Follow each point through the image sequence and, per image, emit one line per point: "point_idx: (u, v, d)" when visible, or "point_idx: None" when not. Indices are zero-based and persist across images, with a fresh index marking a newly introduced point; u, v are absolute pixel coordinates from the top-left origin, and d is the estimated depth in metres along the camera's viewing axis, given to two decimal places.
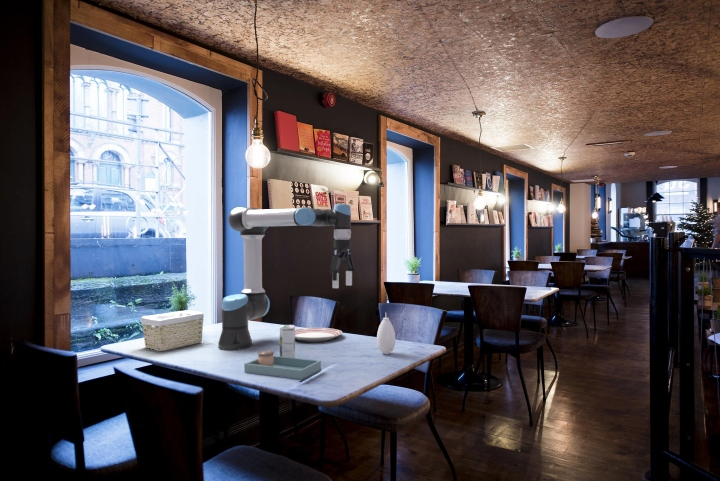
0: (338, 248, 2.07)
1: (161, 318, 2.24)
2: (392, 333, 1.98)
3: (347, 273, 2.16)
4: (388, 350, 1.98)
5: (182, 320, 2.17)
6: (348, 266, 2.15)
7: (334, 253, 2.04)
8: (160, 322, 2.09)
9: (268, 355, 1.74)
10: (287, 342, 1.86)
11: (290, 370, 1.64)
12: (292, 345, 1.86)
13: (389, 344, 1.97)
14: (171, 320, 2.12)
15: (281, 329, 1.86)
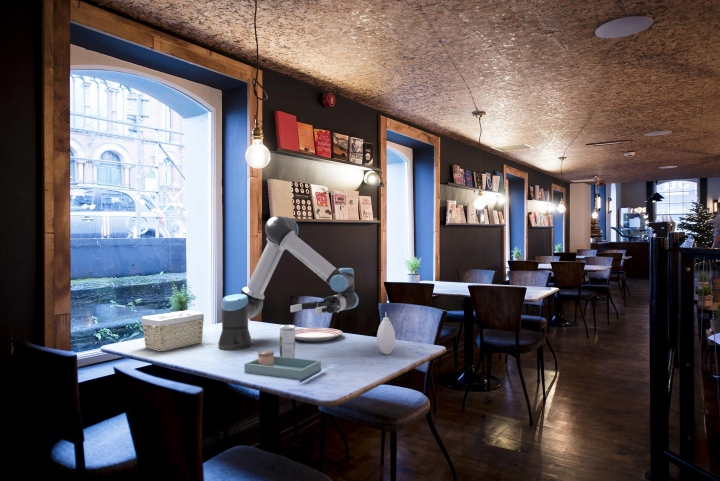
0: None
1: (161, 318, 2.23)
2: (392, 333, 1.98)
3: (300, 306, 2.05)
4: (388, 350, 1.98)
5: (182, 320, 2.16)
6: (306, 307, 2.07)
7: (337, 305, 2.06)
8: (160, 322, 2.08)
9: (268, 355, 1.74)
10: (287, 342, 1.86)
11: (290, 370, 1.64)
12: (292, 345, 1.86)
13: (389, 344, 1.97)
14: (171, 320, 2.12)
15: (281, 329, 1.86)
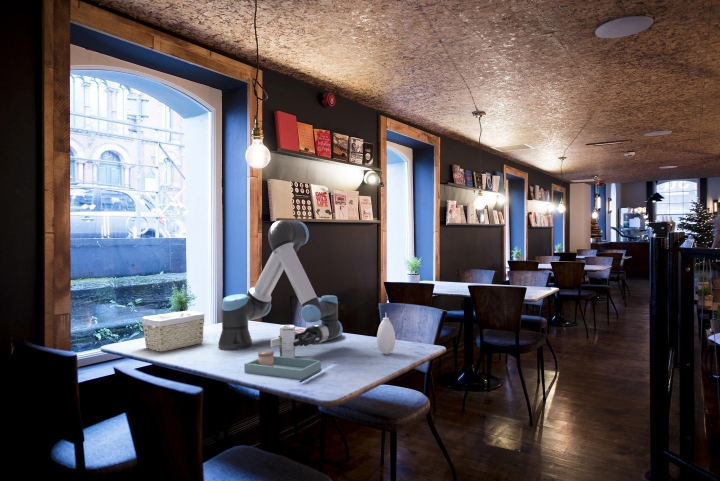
0: None
1: (162, 318, 2.23)
2: (392, 333, 1.98)
3: None
4: (388, 350, 1.98)
5: (182, 320, 2.16)
6: None
7: (316, 338, 1.94)
8: (160, 322, 2.08)
9: (268, 355, 1.74)
10: None
11: (290, 370, 1.64)
12: None
13: (389, 344, 1.97)
14: (171, 320, 2.11)
15: (281, 329, 1.86)
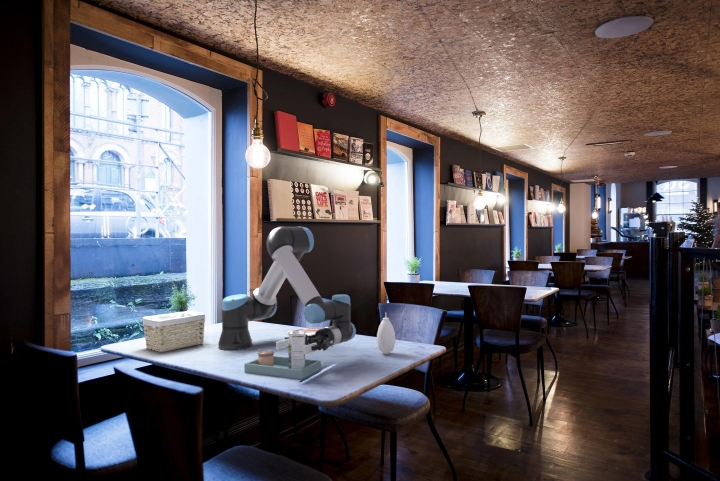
0: None
1: (163, 319, 2.22)
2: (392, 333, 1.98)
3: (287, 341, 1.76)
4: (388, 350, 1.98)
5: (183, 321, 2.15)
6: None
7: (331, 340, 1.77)
8: (160, 323, 2.07)
9: (268, 355, 1.74)
10: (297, 350, 1.68)
11: (290, 370, 1.64)
12: (302, 353, 1.68)
13: (389, 344, 1.97)
14: (171, 321, 2.10)
15: (290, 336, 1.68)
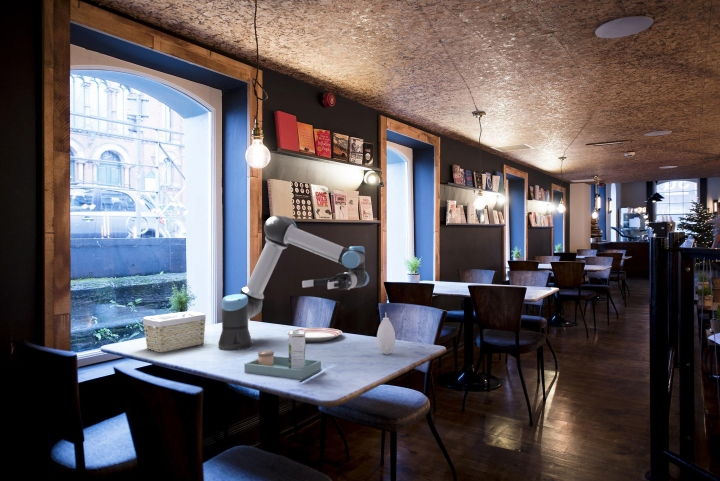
0: None
1: (163, 319, 2.21)
2: (392, 333, 1.98)
3: (311, 281, 2.05)
4: (388, 350, 1.98)
5: (183, 321, 2.14)
6: (318, 283, 2.07)
7: (349, 281, 2.06)
8: (160, 323, 2.06)
9: (268, 355, 1.74)
10: (297, 350, 1.68)
11: (290, 370, 1.64)
12: (302, 353, 1.68)
13: (389, 344, 1.97)
14: (171, 321, 2.10)
15: (290, 336, 1.68)
